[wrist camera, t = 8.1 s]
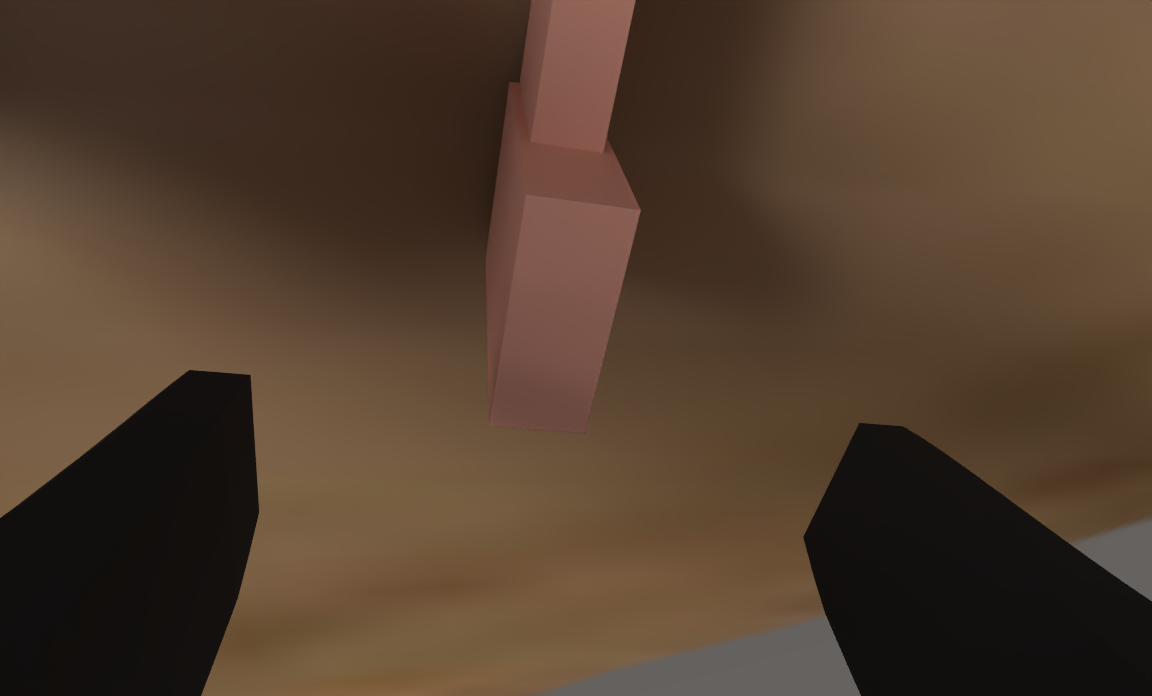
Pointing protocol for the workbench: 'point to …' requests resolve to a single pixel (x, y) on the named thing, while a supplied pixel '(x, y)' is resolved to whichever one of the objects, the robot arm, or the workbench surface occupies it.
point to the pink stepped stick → (558, 219)
